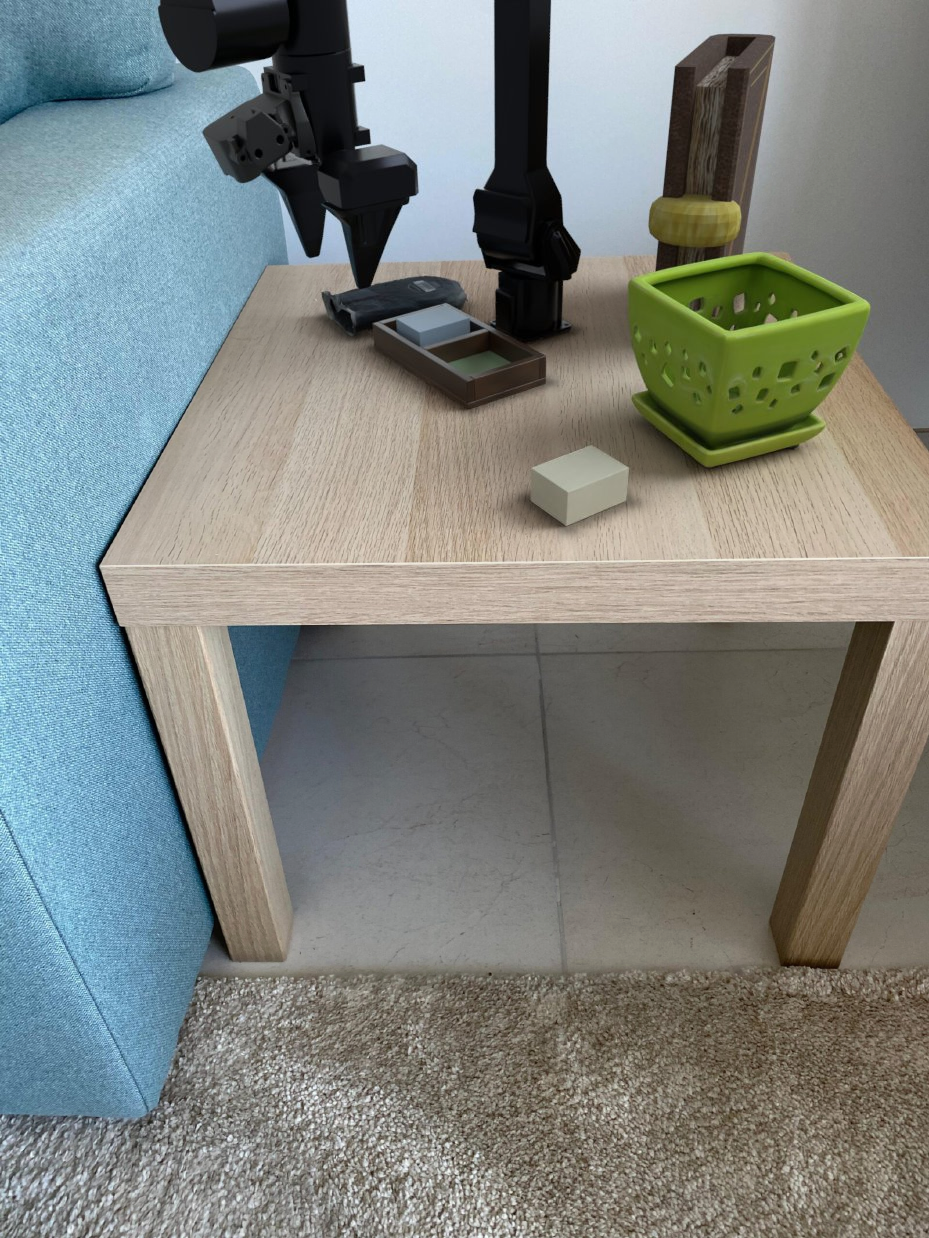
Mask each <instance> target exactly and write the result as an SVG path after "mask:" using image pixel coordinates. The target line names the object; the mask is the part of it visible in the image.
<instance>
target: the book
mask: <svg viewBox="0 0 929 1238" xmlns="http://www.w3.org/2000/svg"><path fill="white" fill-rule="evenodd" d="M775 43H776V36H774V35H773V34H764V33H763V34H761V33H717V34H713V35H709V37H707V38H706V39H704V40H703V42H702V43H700V44H699V45H697V46H696V47H695V48H694V49H693V50H692V51H691V52H689V53H688V54H687V55H686V56H685V57H684V58H683V59H682V60H680V61H679V62H677V64H675V66H674V73H673V82H672V94H671V103H670V112H669V113H670V115H669V124H668V126H669V127H668V134H667V145H666V154H665V155H666V157H665V164H664V176H663V185H662V195H661V196H659V197H657V199H655V200H654V201H652V203H651V205H650V207H649V211H648V212H649V213H648V222H647V223H648V224H647V225H648V232H649V234H650V235H651V236H652V237H653V238H654V239H655V240H656V241H657V249H656V260H655V271H654V272H656V271H660V270H664V269H668V268H673V267H678V266H682V265H687V264H692V263H697V262H702V261H707V260H713V259H718V258H723V257H729V256H735V255H741V254H744V248H745V240H746V234H747V226H748V220H749V214H750V207H751V201H752V195H753V194H752V193H753V187H754V182H755V174H756V168H757V162H758V161H757V160H758V156H759V148H760V142H761V135H762V130H763V129H762V128H763V123H764V116H765V110H766V102H767V96H768V90H769V83H770V76H771V70H772V64H773V57H774V49H775V45H776V44H775ZM735 298H736V297H734V299H735ZM700 308H701V298H699V299H696V300H693V301H691V303H690V306H689V309H690V310H692V311H694V312H695V311H698V310H700ZM719 308H720V307H715V308H714V311H713V313H712V317H716V316H717V314H718V311H719Z"/></svg>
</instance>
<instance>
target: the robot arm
mask: <svg viewBox="0 0 929 1238" xmlns="http://www.w3.org/2000/svg"><path fill="white" fill-rule="evenodd" d="M348 5H349V4H348V0H159V5H158V7H157V12H158V17H159V22H160V26H161V29H162V33H163V36H164V38H165V40H166V44H167V45H168V47H169V49H170V50H171V52H172V54H173V55H174V56H175V58H176V59H177V61H178V62H179V63H180V64H181V65H182V66H183V67H185V69H187V70H189V71H191V72H193V73H205V72H210V71H214V70H219V69H223V68H229V67H234V66H240V65H244V64H250V63H254V62H260V61H264V60H267V59H271V61H272V63H271V64H272V65H268V66H263V67H262V68H263V72H261V73H260V81H261V88H262V93H260V94H258V95H257V96H255V97H253V98H252V99H249V100H246V101H245V102H242V103H241V104H239V105H237V106H236V107H235V108H232V110H230V111H228V112H226V113H225V114H223V115H222V116H220V117H219V118H217V119H215V120H214V121H213V122H211V123H209V124H208V125H206V127H204V128H203V129H202V131H201V134H202V136H203V138H204V139H205V141H206V144H207V145H208V147H209V148H210V151H211V152H212V155H213V156H214V158H215V160H216V162H217V164H218V166H219V167H220V170H221V171H222V173H223V175H224V176H230V177H231V178H233V179H234V180H235V181H236V182H237V183H239V184H247V183H250V182H252V181H254V180H256V179H258V178H259V177H260V176H261V177H262V178H263V179H265V180H266V181H267V182H268V183H270V184H271V185H272V186H274V187H275V188H276V189H277V191H278V192H279V194H280V197H281V199H282V202H283V204H284V206H285V208H286V210H287V213H288V215H289V217H290V220H291V222H292V225H293V227H294V230H295V232H296V235H297V237H298V240H299V242H300V245H301V247H302V249H303V252H304V254H305V256H306V258H307V259H308V258H309V259H313V258H317V257H318V258H319V257H320V255H321V251H322V244H323V239H324V232H325V225H326V224H325V223H326V215H327V212H329V213H330V214H331V215H332V216H333V217H334V218H336V219H337V220H338V221H339V222H340V224H341V228H342V233H343V237H344V242H345V246H346V251H347V255H348V260H349V264H350V269H351V272H352V276H353V280H354V283H355V286H356V288H359V289H364V288H368V287H370V286H371V285H373V282H374V278H375V277H376V273H377V270H378V268H379V264H380V263H381V259H382V257H383V254H384V251H385V248H386V245H387V243H388V241H389V238H390V235H391V234H392V231H393V229H394V225H395V224H396V222H397V219H398V218H399V215H400V213H401V210H402V209H403V206H406V205H408V204H410V200H411V198H412V197H416V196H417V195H418V194H419V193H420V190H419V175H418V174H419V171H418V164H417V163H416V162H415V161H414V160H412V158H411V157H410V156H408V154H406V152H403V151H400V150H398V149H395V148H393V147H390V146H387V145H385V144H382V143H381V144H376V145H371V144H372V140H371V139H372V138H371V129H370V128H368V127H365V126H362V125H360V123H359V111H358V100H357V92H356V84H357V83H363V82H364V83H365V82H366V70H365V65H364V64H360V63H356V62H354V60H353V59H354V58H353V49H352V39H351V38H352V37H351V28H350V16H349V6H348ZM551 18H552V0H493V109H494V110H493V122H494V123H493V129H494V130H493V133H494V137H493V139H494V141H493V142H494V143H493V145H494V146H493V147H494V149H493V150H494V151H493V154H494V161H493V162H494V164H493V169H492V171H491V172H490V174H489V176H488V178H487V180H486V182H485V184H484V185H483V187H480V188H475V189H474V191H473V195H472V203H473V212H474V213H473V224H472V228H471V229H472V230H471V232H472V233H475V235H476V242H477V246H478V248H479V249H480V252H481V256H482V259H483V262H484V266H485V269H487V270H495V271H498V272H497V286H498V287H497V288H496V289H495V291H494V292H495V293H494V301H495V302H494V306H495V307H494V309H495V310H494V313H495V314H494V316H495V319H492V320H490V321H489V326H491V327H493V328H495V329H496V330H498V331H500V332H502V333H504V334H506V335H508V336H510V337H512V338H514V339H515V340H517V341H519V342H521V343H523V344H530V343H533V342H535V341H538V340H543V339H546V338H549V337H552V336H555V335H559V334H561V333H565V332H568V331H570V330H572V324H571V323H569V322H567V321H565V320H563V306H564V305H563V304H564V303H563V302H564V281H565V282H566V281H570V280H572V277H573V275H574V274H576V273H577V272H578V268H579V264H580V260H581V255H582V249H581V248H580V246H579V245H578V244H577V241H575V240H574V238H573V236H572V235H571V234H570V232H569V231H568V230H567V228H566V226H565V225H564V211H563V210H564V209H563V196H562V194H561V192H560V190H559V188H558V186H557V184H556V181H555V180H554V177H553V176H552V173H551V170H550V169H549V166H548V159H547V158H548V133H549V132H548V127H549V94H550V93H549V91H550V58H551V56H550V55H551V22H552V21H551ZM368 145H371V146H368ZM362 146H365V147H362ZM357 147H360V148H357Z"/></svg>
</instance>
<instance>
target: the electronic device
mask: <svg viewBox="0 0 929 1238" xmlns="http://www.w3.org/2000/svg"><path fill="white" fill-rule="evenodd" d="M467 298H468V297H467V293H466V292H465V290H464V289H463V287H462V285H461V283H460V281H457V280H454V279H451V278H447V277H442V276H435V275H419V276H411V277H406V278H400V279H399V278H398V279H393V280H388V281H384V282H376V283H374V284H371V286H370V287H368V288H364V289H359V288H357V287H356V288H353V289H350V290H346V291H343V292H340V293H335V294H332V293H331V291H329V290H326V291H321V299H322V301H323V304H324V307H325V311H326V315H327V317H328V318H329V319H330V320H332V321H333V322H335V323H336V325H338V326H339V327H340V328H341V329H342V330H343V331H344V333H346V334H347V335H348V336H351V337H353V336H355V335H357V334H360V333H363V332H367V331H373V326H372V324H373V323H376V322H379V321H382V320H386V319H390V318H393V317H397V316H400V315H404V314H408V313H411V312H415V311H419V310H422V309H426V308H429V307H433V306H437V305H441V304H444V303H447V304H449V305H451V306H453V307H455V308H457V309H459V310H460V311H462V309H463V307H464V306H465V305H466V303H467V302H468V303H469V301H468V299H467Z"/></svg>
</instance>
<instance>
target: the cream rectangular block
mask: <svg viewBox="0 0 929 1238" xmlns="http://www.w3.org/2000/svg"><path fill="white" fill-rule="evenodd" d="M629 472H630V467H629V466H627V465H625V464H623V462H620V461H619V460H617V459H616V458H614V457H612V456H610V455H609V454H608V453H605V452H604V451H602V450H600V449H598V448H597V447H595V446H594V445H592V444H590V445H588V446H587V445H586V446H585V447H583V448H580V449H577V450H574V451H571V452H570V453H566V454H564V455H561V456H559V457H556V458H553V459H551V460H548V461H546V462H543V463H539V464H538V465H535V466H532V467H531V468H530V502H531V503H533V504H534V505H535V506H537V507H539V508H540V509H541V510H542V511H544V512H546V513H547V514H548V515H550V516H551V517H553V518H554V519H555V520H556V521H558V522H560V523H561V524H562V525H564V526H565V527H568V526H570V525H572V524H574V523H577V522H579V521H582V520H584V519H587V518H589V517H592V516H593V515H596V514H599V513H601V512H604V511H605V510H609V509H610V508H613V507H616V506H617V505H620V504H622V503H625V502H626V501H627V493H628V482H629Z"/></svg>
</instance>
